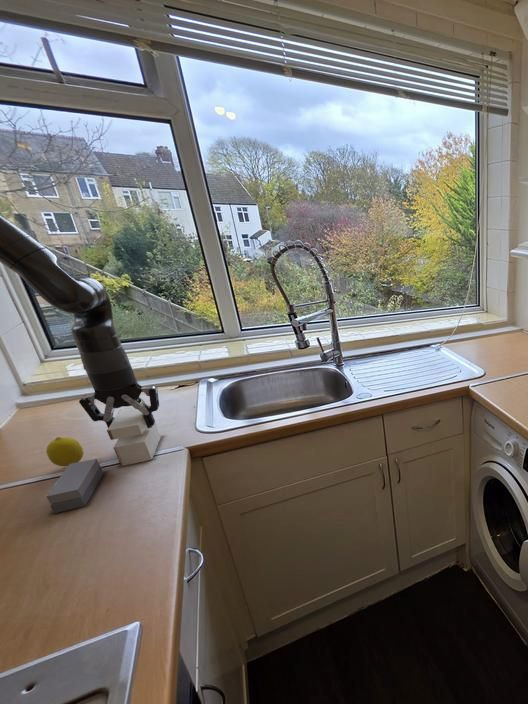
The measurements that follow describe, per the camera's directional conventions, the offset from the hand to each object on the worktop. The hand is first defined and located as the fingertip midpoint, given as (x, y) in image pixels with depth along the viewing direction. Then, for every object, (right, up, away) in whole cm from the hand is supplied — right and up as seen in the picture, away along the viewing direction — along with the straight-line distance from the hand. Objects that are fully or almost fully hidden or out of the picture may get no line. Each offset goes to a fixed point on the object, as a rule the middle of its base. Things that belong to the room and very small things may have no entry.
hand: (134, 429), depth 100 cm
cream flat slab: (0, +1, 0) cm, 1 cm away
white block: (0, -6, +2) cm, 6 cm away
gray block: (0, -12, -13) cm, 17 cm away
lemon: (-11, -8, -4) cm, 14 cm away
